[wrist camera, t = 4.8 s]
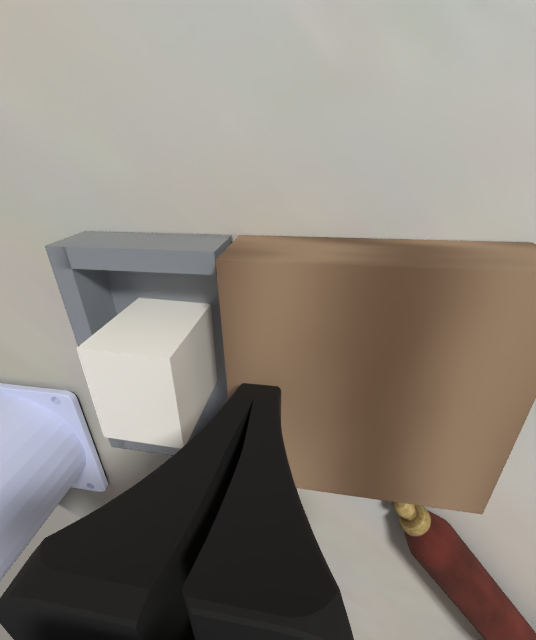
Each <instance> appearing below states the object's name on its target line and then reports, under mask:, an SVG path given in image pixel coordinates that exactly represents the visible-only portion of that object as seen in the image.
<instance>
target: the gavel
mask: <svg viewBox="0 0 536 640" xmlns="http://www.w3.org/2000/svg"><path fill="white" fill-rule="evenodd" d="M393 503H394V509H395V511H396V513H397V514H398V515H399V522H400V525H401V527H402V528H403V529H404V532H405V536H406V539H407V542H408V545H409V549H410V551H411V553H412V554H413V556H414V557H415V558H416V559H417V560H418V562H419V563H420V564H421V565H422V566H423V567H424V569H425V570H426V571H427V572H428V573H429V575H430V576H431V577H432V578H433V579H434V580H435V582H436V583H437V584H438V585H439V586H440V587H441V589H442V590H443V591H444V592H445V593H446V594H447V596H448V597H449V598H450V599H451V600H452V601H453V603H454V604H455V605H456V606H457V607H458V608H459V610H460V611H461V612H462V613H463V614H464V615H465V617H466V618H467V619H468V620H469V621H470V623H471V624H472V625H473V626H474V627H475V628H476V630H477V631H478V632H479V633H480V634H481V635H482V637H483V638H484V639H485V640H536V633H535V631H534V630H533V629H532V628H531V626H530V625H529V624H528V623H527V621H526V620H525V619H524V617H523V616H522V615H521V614H520V612H519V611H518V610H517V609H516V607H515V606H514V605H513V604H512V602H511V601H510V600H509V599H508V597H507V596H506V595H505V593H504V592H503V591H502V590H501V588H500V587H499V586H498V585H497V583H496V582H495V581H494V580H493V578H492V577H491V576H490V575H489V573H488V572H487V571H486V569H485V568H484V567H483V566H482V564H481V563H480V562H479V561H478V559H477V558H476V557H475V556H474V554H473V553H472V552H471V551H470V549H469V548H468V547H467V545H466V544H465V543H464V542H463V540H462V539H461V538H460V537H459V535H458V534H457V533H456V532H455V530H454V529H453V528H452V527H451V525H450V524H449V523H448V522H447V521H446V520H444V519H443V518H441V517H439V516H437V515H435V514H433V513H431V512H429V511H428V510H426V509H425V508H424V507H423V506H420V505H413V504H406V503H399V502H393Z"/></svg>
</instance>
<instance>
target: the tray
mask: <svg viewBox="0 0 536 640" xmlns="http://www.w3.org/2000/svg"><path fill="white" fill-rule="evenodd" d="M231 243H232V235H211V234H171V233H132V232H92V231H84V232H82V233H79V234H76V235H73V236H71V237H68V238H65V239H63V240H60V241H57V242H54V243H52V244H49V245H46V246H45V248H46V251H47V254H48V257H49V260H50V263H51V266H52V269H53V272H54V275H55V278H56V281H57V284H58V287H59V290H60V293H61V296H62V299H63V302H64V305H65V309H66V312H67V315H68V318H69V321H70V324H71V327H72V330H73V333H74V336H75V339H76V342H77V345H78V346H80V345H81V344H82V343H83V342H85V341H86V340H87V339H88V338H89V337H91V336H92V335H93V334H94V333H96V332H97V331H98V330H99V329H101V328H102V327H103V326H104V325H106V324H107V323H108V322H109V321H111V320H112V319H113V318H114V317H116V316H117V315H118V314H119V313H121V312H122V311H123V310H124V309H125V308H127V307H128V306H129V305H130V304H132V303H133V302H134V301H135V300H137V299H138V298H149V299H161V300H173V301H185V302H197V303H208V304H211V310H212V322H213V334H214V347H215V359H216V371H217V383H216V385H215V387H214V389H213V391H212V393H211V395H210V397H209V399H208V401H207V403H206V405H205V407H204V409H203V411H202V413H201V415H200V417H199V419H198V421H197V424H196V426H195V428H194V430H193V432H192V434H191V436H190V438H189V440H188V442H189V441H190V440H191V439H192V438H193V437H194V436H195V435H196V434H197V433H198V432H199V431H200V430H201V429H202V428H203V427H204V426H205V425H206V424H207V423H208V422H209V421H210V420H211V419H212V418H213V416H214V415H215V414H216V413H217V412H218V411H219V410H220V409H221V408H222V407H223V405H224V404H225V403H226V402H227V401H228V389H227V378H226V368H225V357H224V346H223V336H222V325H221V314H220V303H219V293H218V282H217V271H216V259H217V258H218V257H219V256H220V255H221V254H222V253H223V252H224V250H225V249H226V248H227V247H228V246H229V245H230V244H231ZM109 441H110V444H111V447H116V448H123V449H131V450H138V451H146V452H153V453H161V454H168V455H174V454H176V453H177V452H178V451H179V450H180V448H173V447H167V446H160V445H154V444H147V443H141V442H134V441H127V440H121V439H114V438H109ZM188 442H187V443H188Z"/></svg>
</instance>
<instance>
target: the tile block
mask: <svg viewBox="0 0 536 640" xmlns="http://www.w3.org/2000/svg"><path fill="white" fill-rule="evenodd" d="M77 352H78V355H79V358H80V361H81V365H82V368H83V371H84V374H85V377H86V381H87V384H88V387H89V390H90V393H91V397H92V400H93V403H94V406H95V410H96V413H97V416H98V419H99V422H100V426H101V429H102V432H103V435H104V437H108V438H114V439H121V440H127V441H134V442H141V443H147V444H154V445H160V446H167V447H173V448H180V449H181V448H182V447H183V446H185V445H186V444H187V442H188V440H189V438H190V436H191V434H192V432H193V430H194V428H195V426H196V424H197V421H198V419H199V417H200V415H201V413H202V411H203V409H204V407H205V405H206V403H207V401H208V399H209V397H210V395H211V393H212V391H213V389H214V387H215V385H216V383H217V371H216V359H215V347H214V334H213V322H212V310H211V304H208V303H197V302H185V301H173V300H161V299H149V298H138V299H137V300H135V301H134V302H133V303H132V304H130V305H129V306H128V307H127V308H125V309H124V310H123V311H122V312H121V313H119V314H118V315H117V316H116V317H114V318H113V319H112V320H111V321H109V322H108V323H107V324H106V325H104V326H103V327H102V328H101V329H99V330H98V331H97V332H96V333H94V334H93V335H92V336H91V337H89V338H88V339H87V340H86V341H85V342H83V343H82V344H81V345H80V346H78V347H77Z"/></svg>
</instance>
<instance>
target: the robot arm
mask: <svg viewBox="0 0 536 640" xmlns="http://www.w3.org/2000/svg"><path fill="white" fill-rule="evenodd" d="M107 486H108V482H107V479H106V476H105V474H104V471H103V468H102V465H101V463H100V460H99V457H98V454H97V452H96V449H95V446H94V443H93V441H92V438H91V435H90V432H89V430H88V427H87V424H86V422H85V419H84V416H83V413H82V411H81V408H80V405H79V402H78V400H77V397H76V395H75V394H74V393H72V392H70V391H67V390H58V389H49V388H39V387H30V386H21V385H12V384H2V383H0V581H1V579H2V578H3V577H4V575H5V574H6V573H7V571H8V570H9V569H10V567H11V566H12V565H13V563H14V562H15V561H16V559H17V558H18V557H19V555H20V554H21V553H22V551H23V550H24V548H25V547H26V546H27V545H28V543H29V542H30V541H31V539H32V538H33V537H34V536H35V534H36V533H37V531H38V530H39V529H40V528H41V526H42V525H43V524H44V522H45V521H46V520H47V518H48V517H49V516H50V514H51V513H52V512H53V510H54V509H55V508H56V506H57V505H58V504H59V502H60V501H61V500H62V498H63V497H64V496H65V494H66V493H67V492H68V490H69V489H70V488H71V487H72V488H79V489H85V490H91V491H98V492H103V491H105V489H106V488H107ZM0 623H1V625H2V626H3V627H4V628H5V630H6V631H7V632H8V633H9V634H10V636H11V637H12V638H13V639H14V640H354V638H353V634H352V631H351V627H350V623H349V620H348V616H347V613H346V610H345V607H344V603H343V600H342V596H341V593H340V589H339V587H338V585H337V583H336V581H335V579H334V577H333V575H332V573H331V571H330V569H329V567H328V565H327V563H326V561H325V559H324V556H323V554H322V552H321V550H320V548H319V545H318V543H317V541H316V539H315V536H314V534H313V532H312V529H311V527H310V524H309V521H308V519H307V516H306V514H305V511H304V509H303V506H302V504H301V501H300V498H299V495H298V492H297V489H296V486H295V483H294V480H293V477H292V473H291V470H290V466H289V462H288V459H287V454H286V450H285V446H284V441H283V435H282V429H281V389H280V388H279V387H278V386H270V385H260V384H249V383H242V384H241V385H240V386H239V387H238V388H237V390H236V391H235V392H234V393H233V395H232V396H231V397H230V398H229V399H228V401H227V402H226V403H225V404H224V405H223V407H222V408H221V409H220V410H219V411H218V412H217V413H216V414H215V415H214V416H213V418H212V419H211V420H210V421H209V422H208V423H207V424H206V425H205V426H204V427H203V428H202V429H201V430H200V431H199V432H198V433H197V434H196V435H195V436H194V437H193V438H192V439H191V440H190V441H189V442H188V443H187V444H186V445H185V446H183V447H182V448H181V449H180V450H179V451H178V452H177V453H176V454H174V455H173V456H172V457H171V458H170V459H168V460H167V461H166V462H165V463H164V464H162V465H161V466H160V467H159V468H157V469H156V470H155V471H153V472H152V473H151V474H149V475H148V476H147V477H145V478H144V479H143V480H141V481H140V482H139V483H137V484H136V485H134V486H133V487H131V488H130V489H128V490H127V491H125V492H124V493H122V494H121V495H119V496H118V497H116V498H115V499H113V500H111V501H110V502H108V503H107V504H105V505H104V506H102V507H100V508H99V509H97V510H95V511H94V512H92V513H90V514H89V515H87V516H85V517H83V518H81V519H80V520H78V521H76V522H75V523H72V524H71V525H69V526H67V527H65V528H63V529H61V530H59V531H58V532H56V533H54V534H52V535H50V536H48V537H46V538H45V539H44V540H43V541H42V542H41V544H40V545H39V546H38V547H37V549H36V550H35V551H34V552H33V553H32V555H31V556H30V557H29V559H28V560H27V562H26V563H25V564H24V566H23V567H22V569H21V570H20V571H19V573H18V574H17V576H16V577H15V578H14V580H13V581H12V583H11V584H10V585H9V587H8V588H7V590H6V591H5V592H4V594H3V595H2V596H1V598H0Z"/></svg>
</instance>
